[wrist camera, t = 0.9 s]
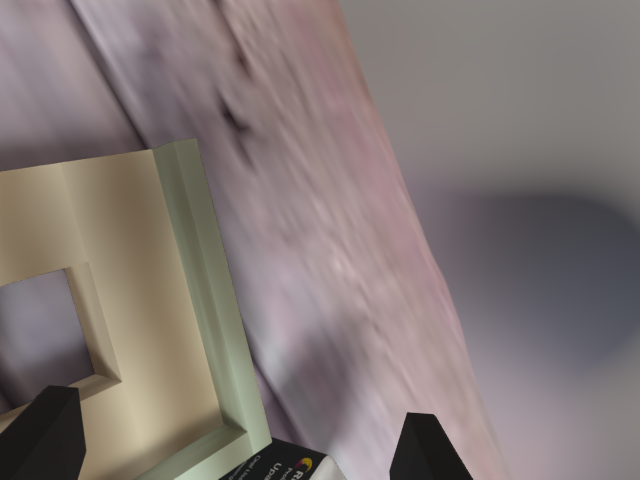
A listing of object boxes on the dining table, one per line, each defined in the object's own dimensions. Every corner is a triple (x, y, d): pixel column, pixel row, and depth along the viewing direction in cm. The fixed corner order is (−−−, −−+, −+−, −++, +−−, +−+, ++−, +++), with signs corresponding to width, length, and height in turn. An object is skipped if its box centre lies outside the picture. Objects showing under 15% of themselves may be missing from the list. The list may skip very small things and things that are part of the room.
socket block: (-122, 624, 20) (-102, 698, 16) (-274, 222, 18) (-290, 206, 14) (215, 423, 30) (272, 442, 27) (144, 156, 28) (196, 137, 25)
